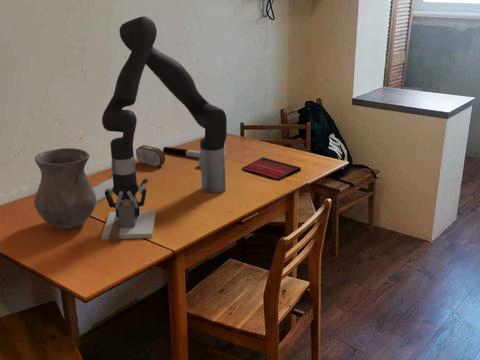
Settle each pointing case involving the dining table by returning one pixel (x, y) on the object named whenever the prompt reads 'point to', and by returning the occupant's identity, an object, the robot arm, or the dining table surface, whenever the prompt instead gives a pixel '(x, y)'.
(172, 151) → the claw hammer
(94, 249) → the dining table surface
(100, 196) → the baseboard molding
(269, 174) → the binder
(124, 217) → the block
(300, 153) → the dining table surface
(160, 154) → the tin
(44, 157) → the vase
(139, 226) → the board
